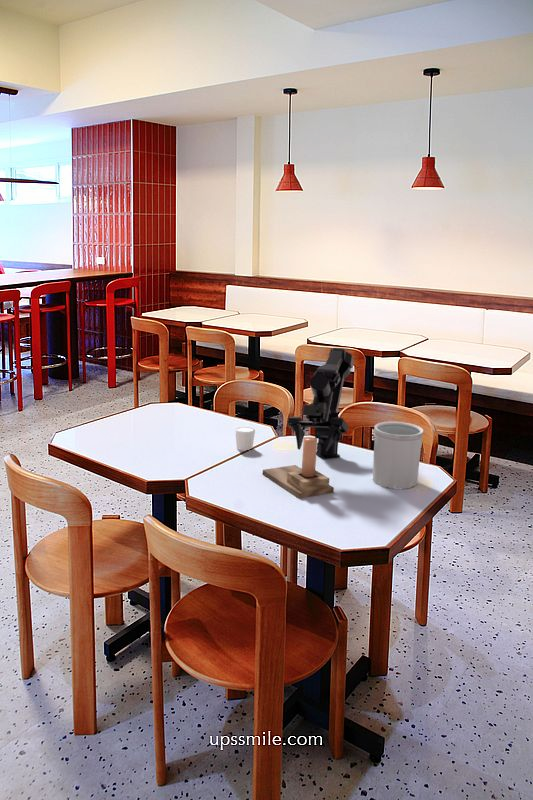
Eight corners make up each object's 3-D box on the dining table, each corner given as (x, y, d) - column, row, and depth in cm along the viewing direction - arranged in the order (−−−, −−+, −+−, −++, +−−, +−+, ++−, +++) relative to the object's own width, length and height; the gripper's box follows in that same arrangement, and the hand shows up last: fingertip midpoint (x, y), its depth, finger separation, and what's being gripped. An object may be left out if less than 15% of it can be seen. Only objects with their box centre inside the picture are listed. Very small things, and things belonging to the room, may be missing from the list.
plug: (310, 471, 204) (312, 436, 202) (317, 475, 201) (319, 440, 198) (298, 473, 202) (300, 438, 200) (306, 477, 199) (308, 441, 196)
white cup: (231, 449, 238) (232, 430, 236) (239, 444, 244) (240, 425, 242) (249, 452, 235) (250, 433, 234) (257, 447, 241) (258, 428, 240)
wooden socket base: (295, 469, 220) (295, 456, 219) (333, 492, 201) (334, 478, 200) (262, 474, 214) (263, 460, 213) (299, 498, 196) (299, 483, 195)
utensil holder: (403, 494, 202) (408, 437, 198) (361, 481, 212) (365, 427, 207) (427, 482, 213) (432, 428, 209) (385, 470, 223) (390, 418, 218)
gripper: (285, 392, 214) (274, 438, 207) (340, 392, 205) (331, 440, 199) (298, 408, 222) (288, 452, 216) (352, 409, 214) (343, 455, 208)
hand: (312, 449), depth 209 cm, fingers open, 9 cm apart
